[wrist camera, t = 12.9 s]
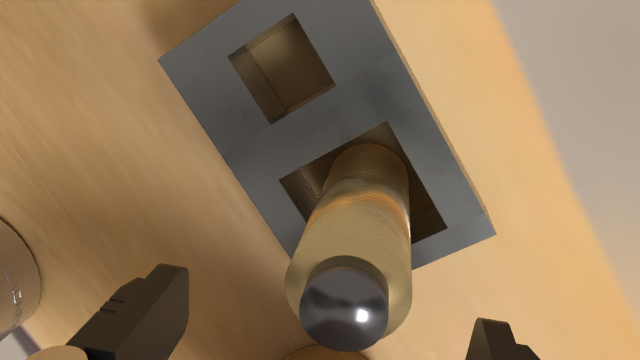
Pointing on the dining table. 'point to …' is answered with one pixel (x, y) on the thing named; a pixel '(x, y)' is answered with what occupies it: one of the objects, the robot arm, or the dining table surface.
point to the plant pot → (323, 354)
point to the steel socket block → (322, 116)
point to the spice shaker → (355, 253)
